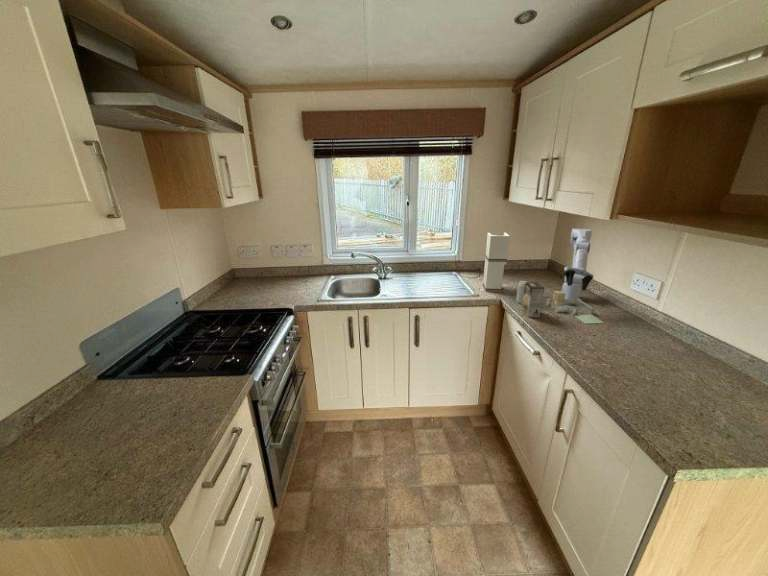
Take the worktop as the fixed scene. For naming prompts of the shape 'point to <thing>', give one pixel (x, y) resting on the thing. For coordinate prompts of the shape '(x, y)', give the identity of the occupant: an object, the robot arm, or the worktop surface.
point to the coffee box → (532, 299)
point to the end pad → (589, 319)
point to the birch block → (558, 299)
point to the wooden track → (569, 308)
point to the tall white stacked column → (495, 262)
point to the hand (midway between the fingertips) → (576, 287)
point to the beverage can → (520, 292)
